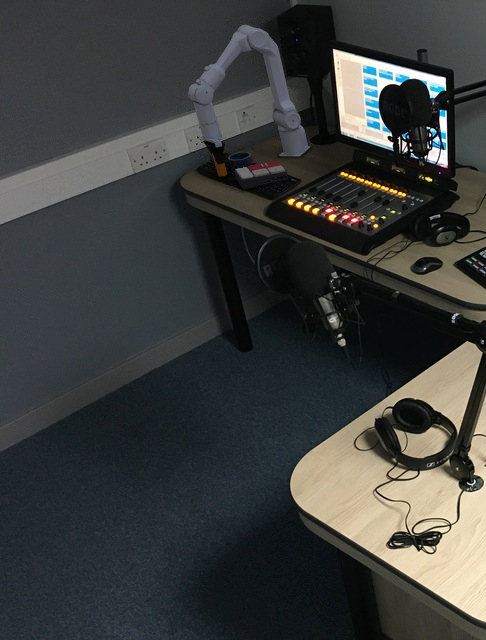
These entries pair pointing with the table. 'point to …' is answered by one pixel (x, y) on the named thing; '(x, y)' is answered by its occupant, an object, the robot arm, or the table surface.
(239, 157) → the dark blue round bowl
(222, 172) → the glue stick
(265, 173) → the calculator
